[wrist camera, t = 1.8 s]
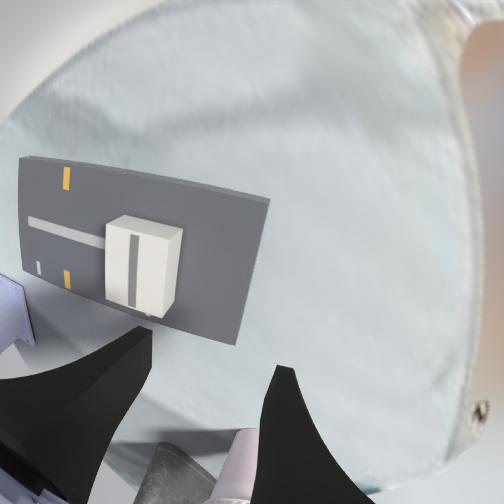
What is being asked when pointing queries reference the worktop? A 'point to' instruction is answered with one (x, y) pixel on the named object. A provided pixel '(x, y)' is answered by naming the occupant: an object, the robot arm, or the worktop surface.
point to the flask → (174, 479)
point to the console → (148, 208)
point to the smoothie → (238, 470)
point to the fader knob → (141, 264)
